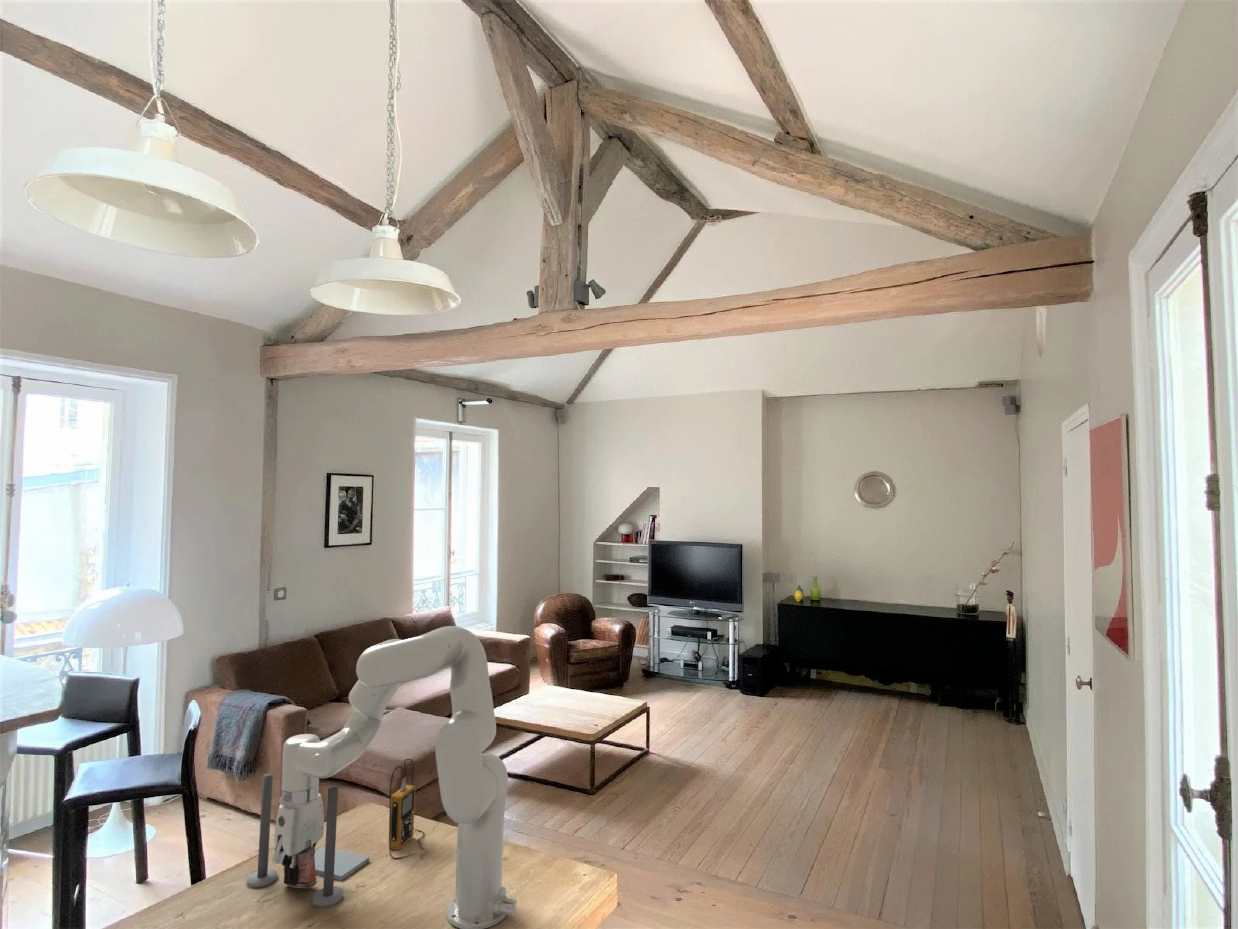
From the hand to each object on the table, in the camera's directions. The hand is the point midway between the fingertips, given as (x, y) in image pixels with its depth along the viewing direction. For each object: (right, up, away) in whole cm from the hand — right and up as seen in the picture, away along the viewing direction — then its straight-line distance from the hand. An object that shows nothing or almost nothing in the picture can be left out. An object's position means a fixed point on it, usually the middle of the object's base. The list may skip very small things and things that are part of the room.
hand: (297, 879), depth 145 cm
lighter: (0, -1, +1) cm, 2 cm away
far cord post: (-10, -2, +3) cm, 10 cm away
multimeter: (+20, -4, +20) cm, 28 cm away
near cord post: (+8, -2, -3) cm, 9 cm away
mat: (+3, -3, +10) cm, 11 cm away
